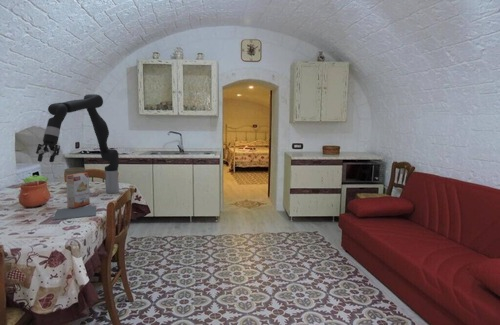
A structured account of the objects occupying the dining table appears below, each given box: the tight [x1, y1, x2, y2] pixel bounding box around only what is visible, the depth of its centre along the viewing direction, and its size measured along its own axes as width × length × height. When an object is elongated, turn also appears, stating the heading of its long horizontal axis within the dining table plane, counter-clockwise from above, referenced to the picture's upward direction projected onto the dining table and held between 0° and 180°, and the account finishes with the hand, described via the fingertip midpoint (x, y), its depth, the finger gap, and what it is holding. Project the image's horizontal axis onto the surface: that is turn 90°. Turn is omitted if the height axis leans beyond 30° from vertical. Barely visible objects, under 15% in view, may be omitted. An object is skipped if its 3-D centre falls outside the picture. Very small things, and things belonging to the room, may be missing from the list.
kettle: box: [21, 174, 50, 184], centre depth 258 cm, size 15×14×11 cm
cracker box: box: [65, 172, 91, 208], centre depth 210 cm, size 14×6×21 cm, turn 169°
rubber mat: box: [52, 205, 97, 221], centre depth 197 cm, size 22×22×1 cm
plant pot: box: [63, 167, 86, 176], centre depth 260 cm, size 15×15×16 cm
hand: (45, 161), depth 191 cm, fingers open, 8 cm apart
